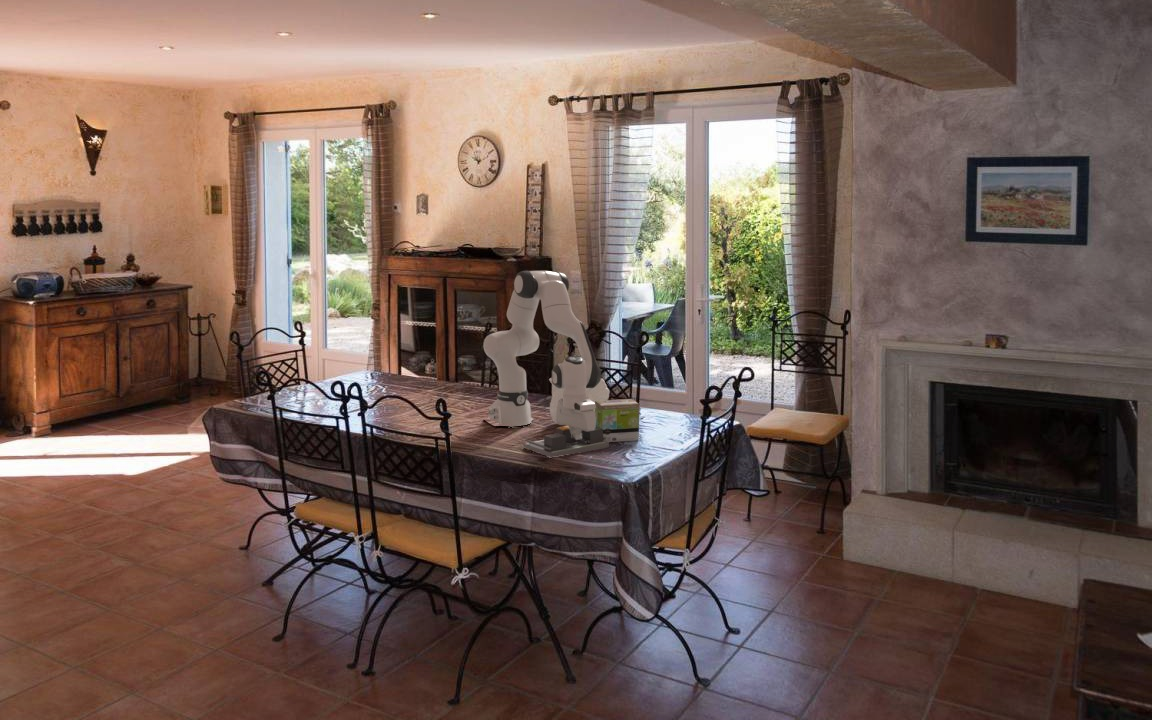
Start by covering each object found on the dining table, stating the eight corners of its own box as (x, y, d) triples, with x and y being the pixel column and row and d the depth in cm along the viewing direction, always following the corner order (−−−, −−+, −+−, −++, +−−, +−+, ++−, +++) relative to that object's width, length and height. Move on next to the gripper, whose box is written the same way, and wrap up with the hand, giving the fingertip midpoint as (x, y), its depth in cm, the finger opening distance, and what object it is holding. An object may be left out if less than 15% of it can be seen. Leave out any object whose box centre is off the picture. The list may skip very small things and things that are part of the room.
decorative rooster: (550, 430, 398) (549, 369, 394) (548, 422, 414) (547, 362, 410) (613, 428, 400) (612, 367, 396) (608, 420, 416) (607, 361, 412)
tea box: (601, 444, 376) (601, 405, 373) (594, 438, 385) (593, 400, 383) (639, 440, 380) (639, 402, 377) (631, 435, 389) (631, 397, 387)
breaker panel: (523, 448, 370) (523, 430, 369) (580, 438, 385) (580, 420, 384) (551, 458, 356) (550, 439, 354) (608, 447, 370) (608, 428, 369)
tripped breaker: (549, 441, 371) (549, 426, 370) (568, 438, 376) (568, 423, 375) (563, 446, 364) (563, 431, 363) (582, 442, 369) (582, 427, 368)
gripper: (551, 398, 369) (552, 434, 371) (584, 407, 353) (584, 445, 355) (565, 396, 373) (566, 432, 375) (598, 405, 356) (598, 442, 358)
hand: (575, 438), depth 365 cm, fingers closed
